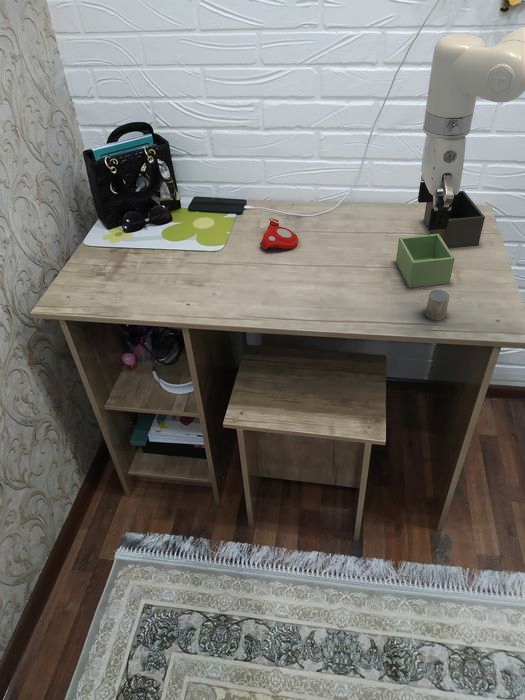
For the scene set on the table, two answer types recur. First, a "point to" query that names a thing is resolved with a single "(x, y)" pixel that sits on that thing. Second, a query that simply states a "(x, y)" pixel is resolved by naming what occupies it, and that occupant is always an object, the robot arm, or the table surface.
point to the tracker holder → (278, 236)
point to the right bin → (459, 222)
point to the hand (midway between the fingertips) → (431, 214)
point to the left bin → (424, 260)
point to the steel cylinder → (437, 305)
